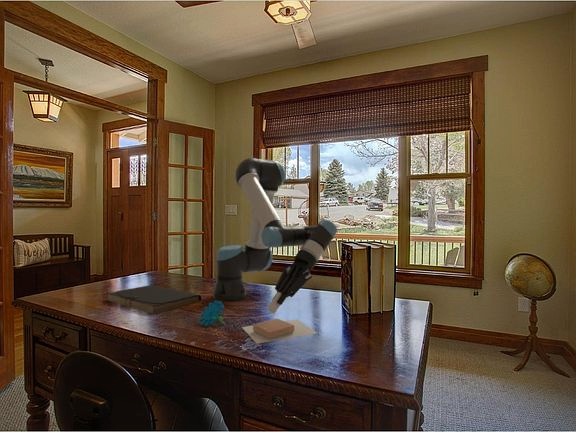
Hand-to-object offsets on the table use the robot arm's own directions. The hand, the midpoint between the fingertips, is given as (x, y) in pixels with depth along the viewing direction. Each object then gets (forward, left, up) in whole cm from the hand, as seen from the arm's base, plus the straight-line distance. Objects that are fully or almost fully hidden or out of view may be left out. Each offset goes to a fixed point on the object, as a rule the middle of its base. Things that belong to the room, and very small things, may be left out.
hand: (270, 311), depth 106 cm
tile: (-2, +6, -6) cm, 9 cm away
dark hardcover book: (-57, -32, -8) cm, 66 cm away
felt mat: (-1, +4, -8) cm, 8 cm away
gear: (-17, -15, -8) cm, 24 cm away
